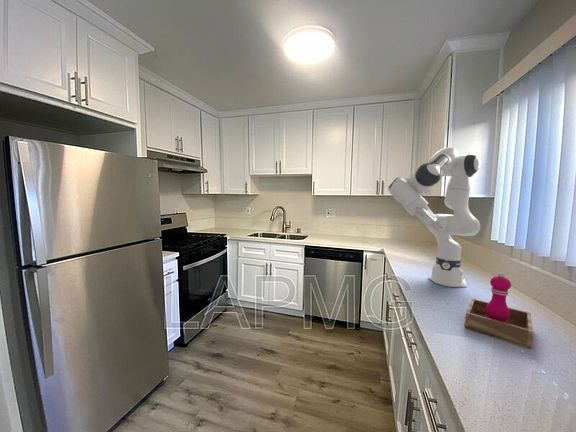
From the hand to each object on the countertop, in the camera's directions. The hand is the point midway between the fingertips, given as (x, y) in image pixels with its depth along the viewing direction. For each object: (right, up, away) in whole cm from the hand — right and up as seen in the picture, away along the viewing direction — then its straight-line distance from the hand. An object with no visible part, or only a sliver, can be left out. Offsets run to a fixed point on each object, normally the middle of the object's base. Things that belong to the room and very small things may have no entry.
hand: (441, 230), depth 107 cm
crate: (+13, -36, -13) cm, 41 cm away
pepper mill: (+14, -35, -12) cm, 40 cm away
